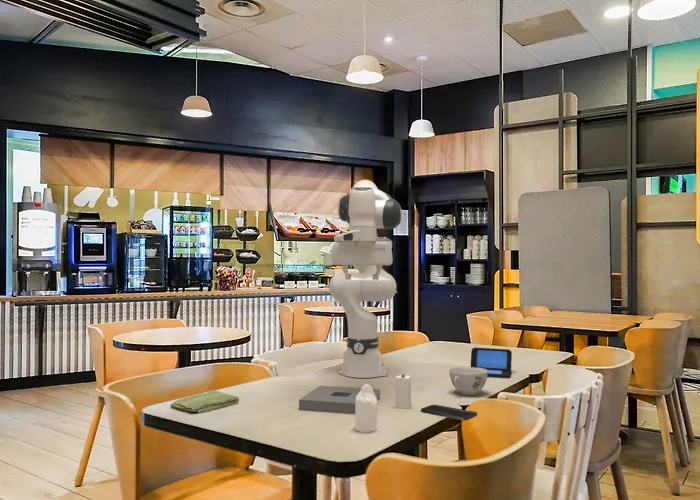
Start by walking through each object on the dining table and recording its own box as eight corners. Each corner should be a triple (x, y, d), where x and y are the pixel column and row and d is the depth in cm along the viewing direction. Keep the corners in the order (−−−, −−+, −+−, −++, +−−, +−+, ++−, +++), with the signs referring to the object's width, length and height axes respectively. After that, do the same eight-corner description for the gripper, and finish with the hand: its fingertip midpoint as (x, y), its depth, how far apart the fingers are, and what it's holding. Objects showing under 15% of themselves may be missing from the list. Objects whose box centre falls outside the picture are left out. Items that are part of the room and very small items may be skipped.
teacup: (462, 387, 209) (462, 364, 209) (494, 393, 200) (494, 369, 200) (437, 395, 197) (437, 370, 197) (471, 401, 189) (471, 375, 189)
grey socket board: (320, 394, 198) (320, 385, 198) (380, 398, 192) (380, 389, 192) (299, 409, 178) (299, 399, 178) (364, 414, 173) (364, 404, 173)
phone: (433, 404, 182) (478, 412, 173) (433, 408, 182) (478, 416, 173) (419, 409, 176) (465, 417, 167) (419, 413, 176) (465, 422, 167)
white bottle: (368, 380, 163) (382, 383, 158) (368, 425, 163) (381, 429, 158) (350, 383, 159) (363, 386, 155) (350, 428, 159) (363, 433, 154)
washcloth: (167, 409, 181) (168, 398, 181) (215, 398, 194) (215, 388, 194) (194, 416, 172) (194, 405, 172) (242, 404, 186) (242, 394, 186)
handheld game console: (467, 376, 229) (467, 352, 229) (471, 370, 242) (471, 347, 242) (510, 379, 224) (510, 354, 225) (511, 372, 237) (511, 349, 237)
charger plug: (398, 404, 185) (398, 373, 185) (411, 405, 184) (410, 374, 184) (395, 407, 181) (395, 375, 181) (408, 408, 180) (408, 376, 180)
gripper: (388, 237, 201) (388, 279, 200) (329, 236, 194) (329, 279, 194) (395, 236, 195) (395, 279, 194) (335, 235, 188) (335, 279, 188)
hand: (362, 279), depth 194 cm, fingers open, 8 cm apart
